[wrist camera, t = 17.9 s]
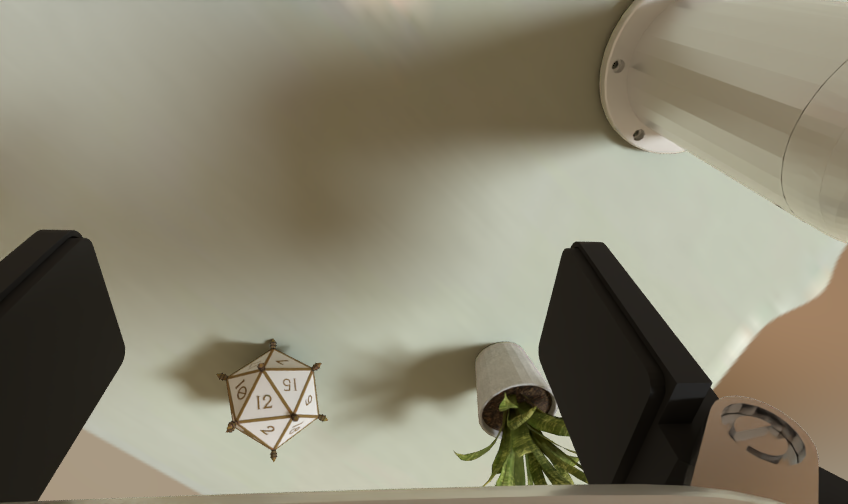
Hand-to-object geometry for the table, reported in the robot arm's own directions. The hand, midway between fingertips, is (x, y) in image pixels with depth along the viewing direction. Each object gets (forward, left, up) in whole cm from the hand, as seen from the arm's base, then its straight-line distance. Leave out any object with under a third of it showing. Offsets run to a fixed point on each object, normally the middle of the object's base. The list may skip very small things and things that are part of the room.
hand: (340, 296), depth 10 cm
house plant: (-13, +29, -26) cm, 41 cm away
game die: (+8, +26, -26) cm, 38 cm away
